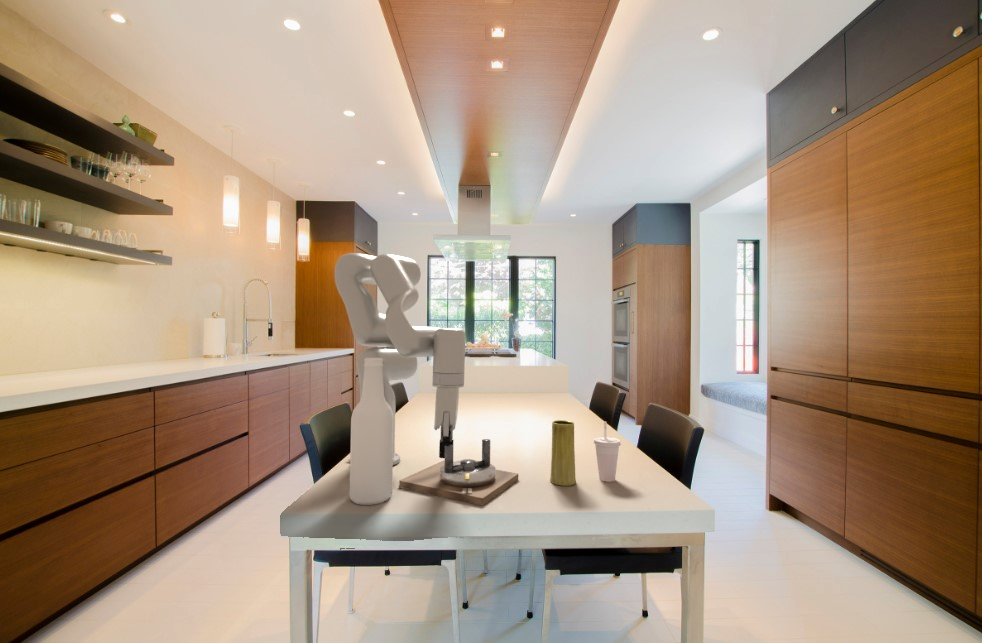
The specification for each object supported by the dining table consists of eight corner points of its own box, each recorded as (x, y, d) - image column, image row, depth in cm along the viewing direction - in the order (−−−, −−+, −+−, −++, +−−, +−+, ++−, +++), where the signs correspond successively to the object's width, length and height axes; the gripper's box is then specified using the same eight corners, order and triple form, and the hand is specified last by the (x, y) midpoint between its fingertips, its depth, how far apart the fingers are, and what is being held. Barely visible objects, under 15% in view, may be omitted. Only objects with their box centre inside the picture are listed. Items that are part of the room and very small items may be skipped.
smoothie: (605, 473, 108) (605, 418, 108) (626, 480, 102) (626, 423, 103) (588, 477, 104) (588, 421, 105) (608, 485, 99) (608, 425, 99)
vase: (575, 487, 97) (575, 425, 98) (549, 485, 99) (549, 424, 99) (575, 478, 103) (576, 420, 104) (550, 476, 105) (551, 419, 105)
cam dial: (459, 493, 88) (459, 454, 89) (430, 473, 101) (431, 440, 101) (509, 482, 95) (510, 446, 95) (477, 465, 107) (478, 434, 108)
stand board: (399, 487, 96) (399, 479, 97) (443, 466, 112) (443, 459, 112) (482, 505, 86) (482, 497, 86) (518, 479, 102) (518, 472, 102)
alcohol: (390, 505, 86) (392, 359, 87) (345, 507, 85) (349, 359, 86) (393, 489, 95) (395, 357, 96) (353, 491, 94) (356, 357, 95)
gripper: (435, 376, 107) (432, 448, 107) (429, 383, 92) (427, 467, 92) (464, 376, 108) (462, 448, 107) (463, 384, 93) (461, 467, 92)
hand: (446, 457), depth 99 cm, fingers closed
